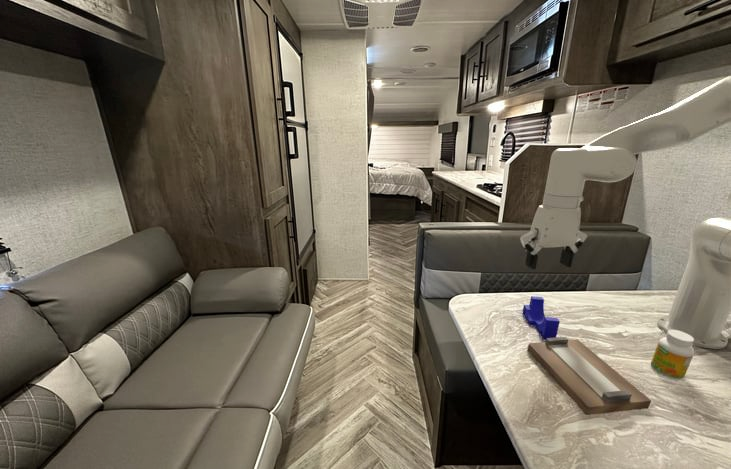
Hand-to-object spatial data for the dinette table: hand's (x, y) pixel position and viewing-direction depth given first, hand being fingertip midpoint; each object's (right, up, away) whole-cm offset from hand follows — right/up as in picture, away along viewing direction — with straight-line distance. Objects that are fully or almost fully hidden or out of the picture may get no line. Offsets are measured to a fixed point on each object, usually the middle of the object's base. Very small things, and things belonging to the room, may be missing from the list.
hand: (547, 266), depth 75 cm
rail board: (0, -23, -11) cm, 26 cm away
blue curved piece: (+1, -18, +6) cm, 19 cm away
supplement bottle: (+20, -23, -10) cm, 32 cm away
